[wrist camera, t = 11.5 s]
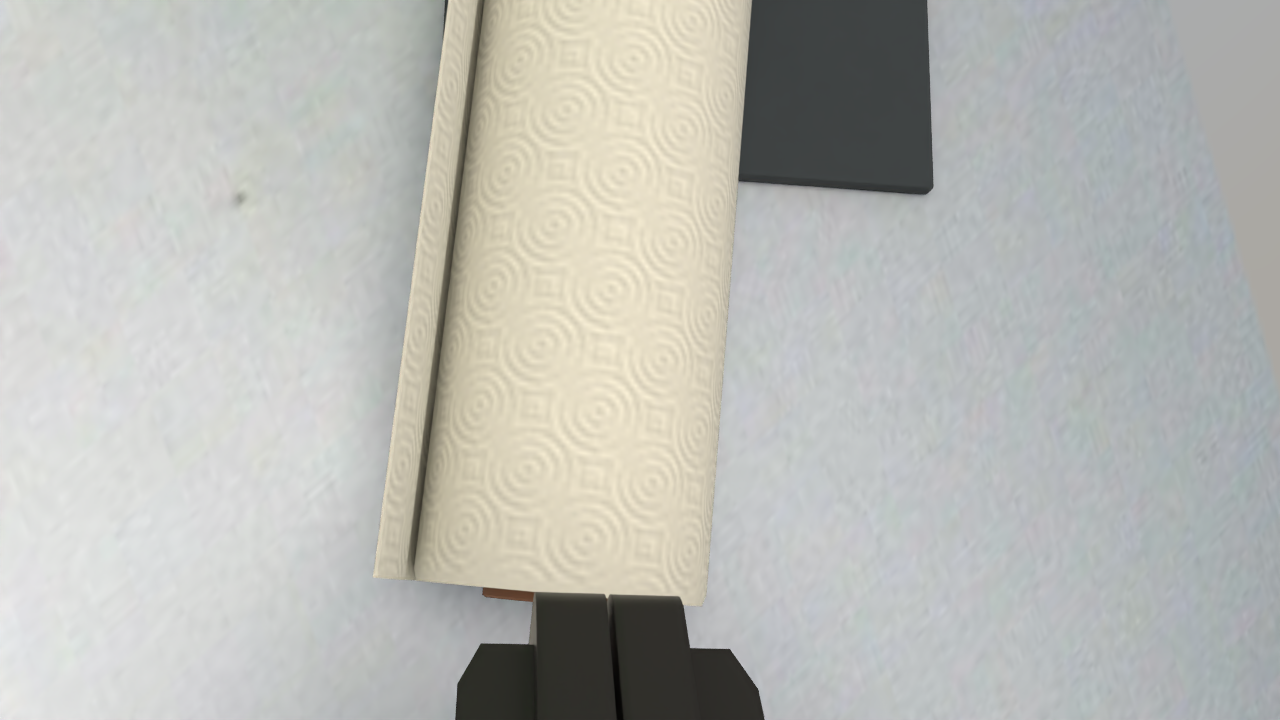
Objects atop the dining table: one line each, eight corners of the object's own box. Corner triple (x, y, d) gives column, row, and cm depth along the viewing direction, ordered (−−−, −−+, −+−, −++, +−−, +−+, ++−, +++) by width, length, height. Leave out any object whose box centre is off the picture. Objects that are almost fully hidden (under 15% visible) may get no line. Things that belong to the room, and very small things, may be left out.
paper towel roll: (645, 609, 28) (714, -189, 32) (753, 622, 23) (820, -346, 27) (336, 582, 26) (453, -273, 30) (371, 589, 20) (509, -464, 24)
